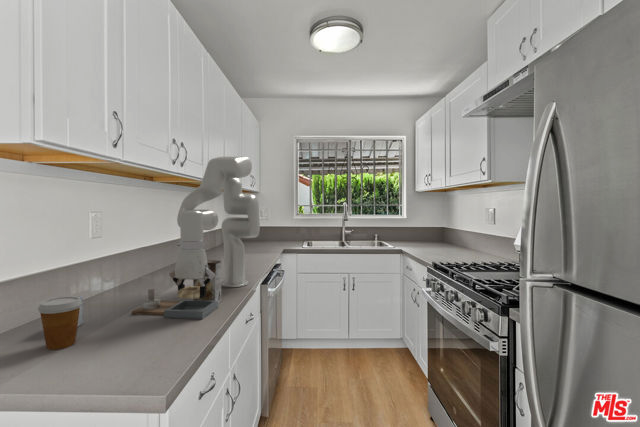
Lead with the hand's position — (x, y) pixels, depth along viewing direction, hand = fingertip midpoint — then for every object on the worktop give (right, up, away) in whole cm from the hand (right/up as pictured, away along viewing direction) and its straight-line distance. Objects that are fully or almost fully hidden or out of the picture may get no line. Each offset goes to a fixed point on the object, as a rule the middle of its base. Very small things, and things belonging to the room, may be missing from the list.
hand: (192, 296), depth 123 cm
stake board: (-14, -6, +5) cm, 15 cm away
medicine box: (-32, -6, -16) cm, 36 cm away
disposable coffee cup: (-25, -7, -28) cm, 38 cm away
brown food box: (+1, -6, +13) cm, 14 cm away
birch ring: (0, 0, 0) cm, 0 cm away
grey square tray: (0, -6, 0) cm, 6 cm away
